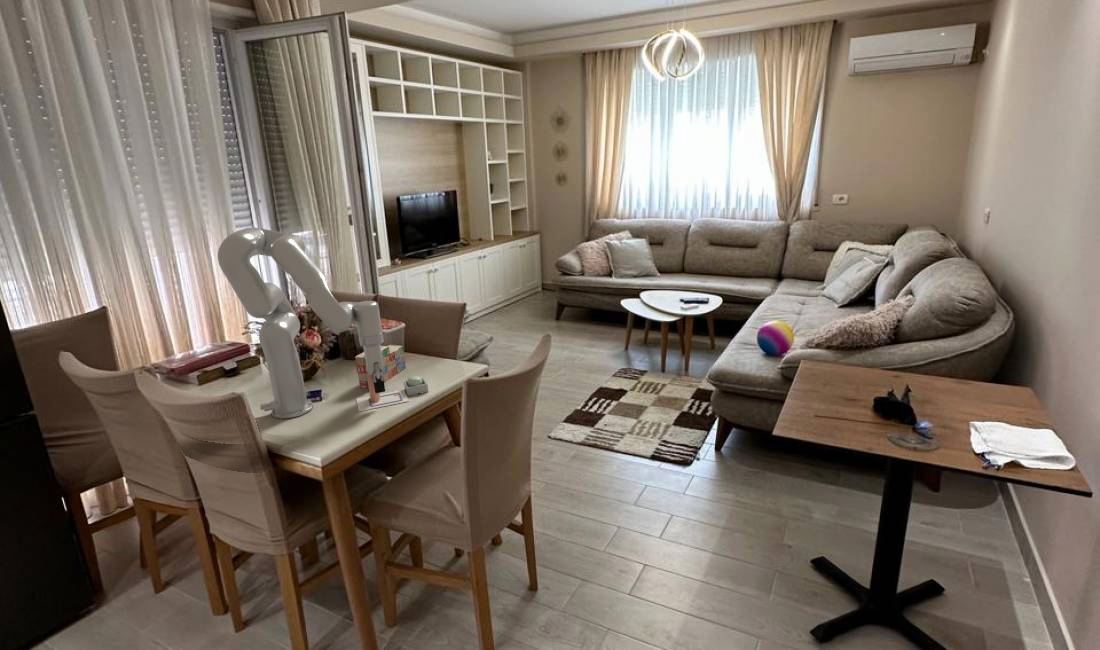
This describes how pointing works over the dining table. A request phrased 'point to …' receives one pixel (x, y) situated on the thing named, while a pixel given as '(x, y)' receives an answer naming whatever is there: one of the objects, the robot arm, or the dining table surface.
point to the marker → (372, 389)
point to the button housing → (416, 388)
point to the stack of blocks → (391, 364)
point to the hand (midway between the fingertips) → (378, 387)
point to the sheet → (382, 400)
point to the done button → (415, 381)
